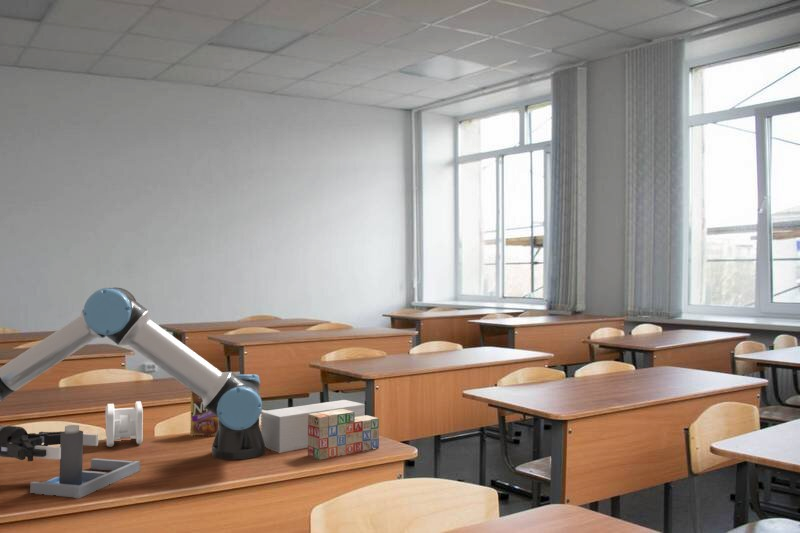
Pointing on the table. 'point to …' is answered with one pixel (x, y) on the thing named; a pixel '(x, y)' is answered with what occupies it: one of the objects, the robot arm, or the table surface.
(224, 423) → the robot arm
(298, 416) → the long white block
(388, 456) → the table surface
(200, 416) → the candy box
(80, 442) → the grey bottle
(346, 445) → the stack of blocks
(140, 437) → the cable organizer
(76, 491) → the grey frame
